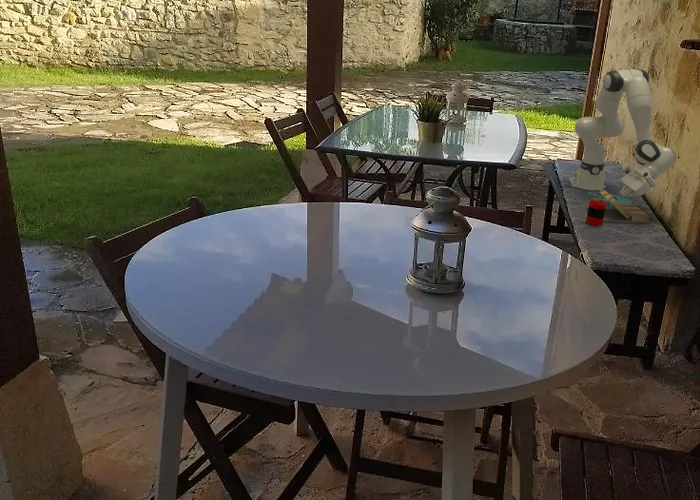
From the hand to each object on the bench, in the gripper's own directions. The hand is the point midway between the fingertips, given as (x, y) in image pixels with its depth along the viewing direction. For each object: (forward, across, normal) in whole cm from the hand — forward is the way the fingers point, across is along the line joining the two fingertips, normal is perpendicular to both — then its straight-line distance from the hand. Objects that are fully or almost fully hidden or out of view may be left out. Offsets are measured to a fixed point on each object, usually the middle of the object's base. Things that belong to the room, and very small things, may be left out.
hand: (621, 194), depth 327 cm
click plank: (+6, 0, +2) cm, 6 cm away
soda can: (+19, +12, -3) cm, 23 cm away
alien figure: (+5, -21, +11) cm, 25 cm away
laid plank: (+2, 0, +13) cm, 14 cm away
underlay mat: (+8, 0, +8) cm, 11 cm away
